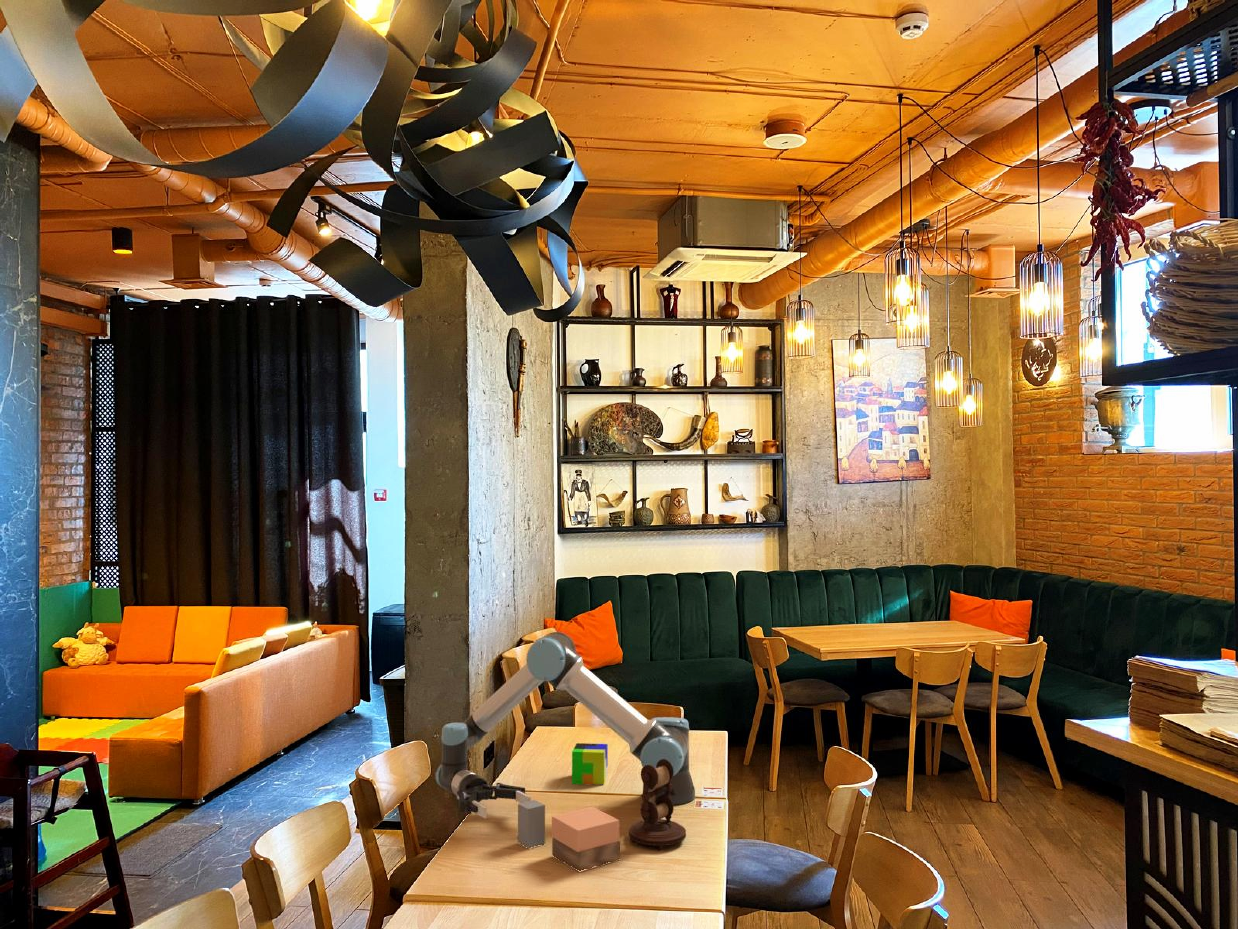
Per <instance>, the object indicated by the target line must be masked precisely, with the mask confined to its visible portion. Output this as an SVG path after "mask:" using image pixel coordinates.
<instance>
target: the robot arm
mask: <svg viewBox="0 0 1238 929" xmlns="http://www.w3.org/2000/svg"><path fill="white" fill-rule="evenodd" d="M576 649H577V648H576V645H575V642H574V641H573V639H572V638H571V637H570V636H569V635H568V634H566V633H564V632H560V631H554V632H553V631H552V632H550V633H548V634H546V635H544V636H542V637H540V638H538V639H536V640H535V641H534V642H533V643H532V644H531V645H530V647H529V648H528V651H527V654H526V659H525V660H526V663H525V664H524V665H523V666H522V667H521V668H520V669H519V670H518V671H516V673H515V674H513V675H512V676H511V677H510V678H509V679H508V680H507V681H506V682H505V683H503V685H502V686H501V687H500V688H498V690H496V691H495V692H494V693H493V694H492V695H491V696H490V697H489V698H488V699H487V700H486V701H484V703H482V704H481V705H480V706H479V707H478V708H477V709H476V710H475V711H474V712H473V713H472V714H470V715H469V716H468V717H467V718H466V719H465V720H464V721H463V722H450V723H447V724H444V725H443V727H442V730H441V738H440V739H441V764H440V765H439V766H438V768H437V770H436V772H435V782H436V783H437V785H438V786H440V788H442V789H443V790H444V791H447V792H449V793H451V794H453V795H455V796H456V802H457V803H459V804H458V805H459V812H460V813H463V812H465V810H466V814H467V815H472V813H474V814H476V815H477V816H480V817H481V818H483V819H486V818H487V814H488V812H487V810H488V809H487V808H488V807H487V806H485V805H484V804H483V803H480V802H482V801H487V800H493V801H494V800H497V799H506V800H507V799H509V800H515V801H516V802H517V803H518V804H519V803H523V802H528V801H532V796H530V795H528V794H526V787H522V786H517V785H511V784H504V783H501V782H497V783H496V785H491V784H488V782H487V781H486V779H485V778H484V777H482V776H481V775H479V774H476V773H474V772H472V771H470V770H468V751H469V749H471V748H473V747H474V746H475V745H476V744H478V743H479V742H481V741H482V739H483V738H484V737H486V735H487V734H488V733H489V732H491V730H492V729H493V728H494V727H496V726H497V725H498V724H499V723H500V722H501V721H502V720H503V719H504V718H505V717H507V716H508V715H509V713H511V712H512V711H513V710H514V709H515V708H516V707H517V706H518V705H520V704H521V703H522V702H523V701H524V700H525V699H526V698H527V697H528V696H530V694H532V692H533V691H535V690H536V689H537V688H538V687H539V686H540V685H542V684H543V682H547V683H548V684H549V685H551V687H553V688H554V689H555V690H565V691H566V692H567V693H569V694H570V695H571V696H572V697H573V698H575V700H577V701H578V702H579V703H580V704H581V705H583V707H585V708H586V709H587V710H588V711H589V712H591V713H592V714H593V715H594V716H595V717H597V718H598V719H599V720H600V721H601V722H602V723H604V724H605V725H606V726H607V727H608V728H609V729H611V730H612V731H613V732H614V733H616V734H617V735H618V736H619V737H620V738H621V739H622V740H624V741H625V742H626V743H627V744H628V746H629V752H630V754H632V755H633V756H634V757H635V758H636V759H637V760H639V761H640V764H641V767H642V768H643V767H644V766H645V765H651V766H653V767H654V768H656V765H657V763H658V761H659V760H661V759H666V760H668V761H669V762H670V763H671V764H672V766H673V770H674V775H673V777H672V779H671V782H670V783H671V784H672V790H671V792H670V796H671V801H672V803H673V806H674V805H682V804H687V803H691V802H692V801H694V800H695V798H696V788H695V786H694V783H693V778H692V775H691V771H690V734H689V732H690V726H689V725H690V724H689V721H688V720H687V719H686V718H683V717H672V716H671V717H667V716H663V717H661V716H658V717H653V718H651V719H647V718H646V717H645V716H644V715H643V714H641V712H640V711H638V710H637V709H636V708H634V707H633V706H632V705H631V704H630V703H628V701H627V700H626V699H624V698H623V697H621V696H620V695H619V694H618V693H617V692H615V690H613V689H612V688H611V687H610V686H609V685H608V684H606V683H605V682H604V681H603V680H601V679H600V678H599V677H598V676H597V675H595V673H594V672H592V671H590V670H589V669H588V668H587V667H586V666H585V665H584V661H583V657H582V656H581V655H580V654H579V653H577V650H576ZM662 786H664V785H662ZM662 786H660V787H657V788H661V787H662ZM657 788H656V789H657ZM660 795H666V792H662V793H661V794H659V795H656V796H655V804H656V800H657V798H658V797H659V796H660Z"/></svg>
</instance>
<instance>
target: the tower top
mask: <svg viewBox="0 0 1238 929" xmlns="http://www.w3.org/2000/svg"><path fill="white" fill-rule="evenodd" d="M552 837H553V838H555V839H556V840H558V841H560V842H562V843H563V844H565V845H567V846H568V847H570V848H572V849H573V850H575V851H577V852H581V851H584V850H588V849H592V848H595V847H599V846H603V845H607V844H610V843H614V842H618V841H620V820H619V819H618V818H616V817H614V816H612V815H609V814H608V813H606V812H603V811H601V810H600V809H597V808H596V807H594V806H589V807H585V808H581V809H576V810H572V811H568V812H563V813H560V814H556V815H552V816H551V838H552Z"/></svg>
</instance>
